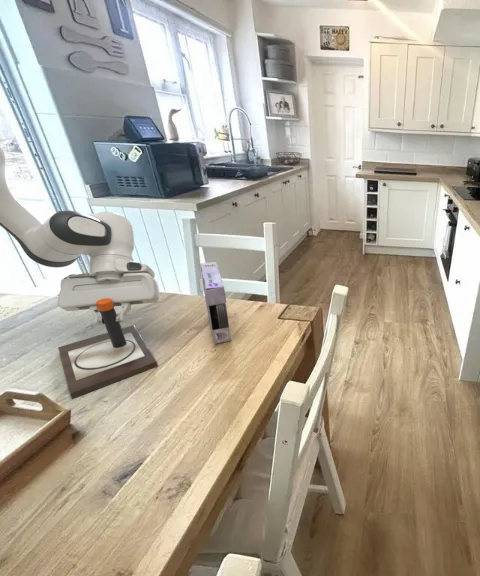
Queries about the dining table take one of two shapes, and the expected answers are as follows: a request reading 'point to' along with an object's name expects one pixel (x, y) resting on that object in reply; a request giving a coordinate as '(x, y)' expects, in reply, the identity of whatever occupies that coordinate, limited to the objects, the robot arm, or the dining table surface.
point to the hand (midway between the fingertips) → (110, 322)
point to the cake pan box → (215, 302)
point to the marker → (111, 322)
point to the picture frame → (104, 361)
